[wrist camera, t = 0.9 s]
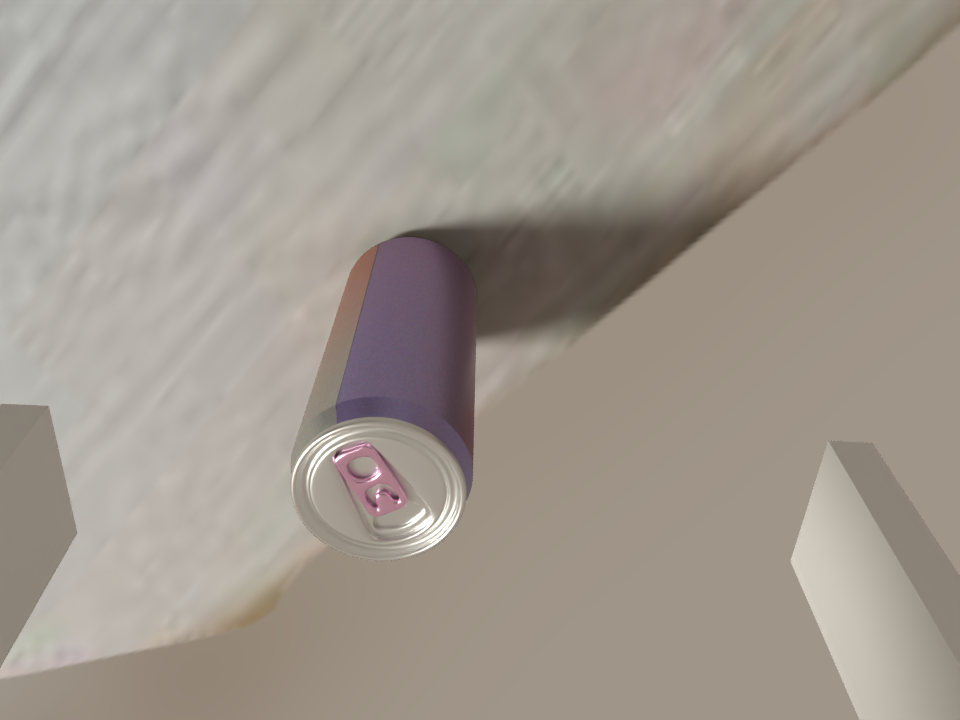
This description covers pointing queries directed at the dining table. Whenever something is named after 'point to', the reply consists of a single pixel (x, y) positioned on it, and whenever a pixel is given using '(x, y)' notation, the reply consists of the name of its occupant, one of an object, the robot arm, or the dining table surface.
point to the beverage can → (392, 407)
